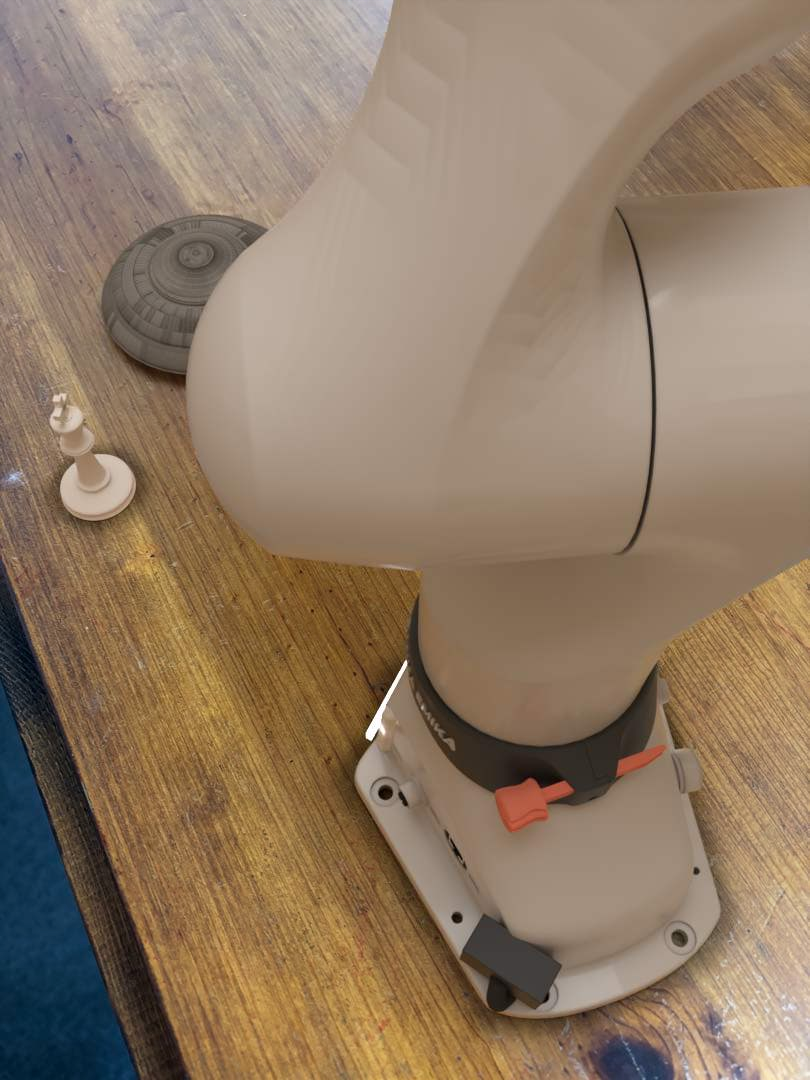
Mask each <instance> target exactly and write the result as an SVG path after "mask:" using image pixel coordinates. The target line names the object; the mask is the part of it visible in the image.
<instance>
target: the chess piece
mask: <svg viewBox="0 0 810 1080" xmlns="http://www.w3.org/2000/svg"><path fill="white" fill-rule="evenodd" d="M69 400H70V397H69V395H68V393H65V392H63V393H61V392H59V395H57V394H54V395H53V398H52V400H51V402H52V404H53V406H54V409H53V412H52V413H51V415H50V417H49V425H50V428H51V429H52V430H53V431H54V432H55V433H56V434H58V435H59V436H60V438H59V448H60V450H61V452H62V453H63V454H64V455H67V456H70V457H73V459H74V463H72V464H71V465H70V466H69V467H68V468H67V469H66V471H64V474H63V475H62V476H61V477H62V478H61V481H60V484H59V493H60V497H61V502H62V504H63V506H64V508H65V509H66V511H67V512H69V513H70V514H71V515H72V516H74V517H75V518H78V519H81V520H83V521H89V522H90V521H91V522H97V521H104V520H107V519H110V518H112V517H115V516H117V515H119V514H120V513H121V512H123V511H124V510H125V509H126V508H127V507H128V506H129V504H130V503H131V502H132V500H133V499H134V496H135V494H136V489H137V481H136V477H135V475H134V472H133V471H132V469H131V468H130V467H129V465H128V464H127V463H126V462H125V461H124V460H123V459H121V458H119V457H117V456H115V455H111V454H107V453H95V454H94V453H93V451H92V448H93V447H94V444H95V435H94V434H93V432H92V431H91V430H90V429H88V428H87V427H84V423H85V418H84V413H83V411H82V410H81V409H80V408H79V407H77V406H75V405H71V404H68V402H69Z"/></svg>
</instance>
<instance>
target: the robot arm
mask: <svg viewBox="0 0 810 1080" xmlns="http://www.w3.org/2000/svg"><path fill="white" fill-rule="evenodd" d="M809 31H810V0H393V2H392V6H391V11H390V16H389V20H388V24H387V29H386V32H385V35H384V37H383V38H384V39H383V42H382V45H381V49H380V51H379V55H378V58H377V61H376V63H375V66H374V69H373V72H372V75H371V77H370V79H369V82H368V85H367V87H366V90H365V93H364V94H363V97H362V99H361V101H360V103H359V105H358V108H357V110H356V112H355V113H354V116H353V118H352V119H351V121H350V123H349V125H348V127H347V129H346V131H345V132H344V134H343V136H342V138H341V140H340V142H339V144H338V146H337V147H336V148H335V150H334V151H333V153H332V155H331V156H330V157H329V159H328V161H327V162H326V164H325V165H324V167H323V168H322V169H321V171H320V172H319V174H318V175H317V177H316V178H315V179H314V181H312V183H311V184H310V185H309V187H308V188H307V189H306V191H305V192H304V193H303V194H302V195H301V196H300V198H299V199H298V201H297V202H296V203H295V204H293V206H292V207H291V208H289V210H288V211H287V212H286V213H284V215H283V216H282V217H281V218H280V219H279V220H278V221H277V222H276V223H275V224H273V226H272V227H270V228H269V229H268V231H267V232H266V233H265V234H264V235H262V236H261V237H260V238H259V239H258V240H256V241H255V242H254V243H253V244H252V245H251V246H249V247H248V248H247V249H245V250H244V251H243V252H242V253H241V254H240V255H239V256H238V258H237V259H236V260H235V261H234V262H233V263H232V264H231V266H230V267H229V268H228V269H227V270H226V272H225V273H224V275H223V276H222V278H221V279H220V281H219V282H218V283H217V285H216V286H215V288H214V290H213V292H212V293H211V295H210V297H209V299H208V301H207V303H206V305H205V306H204V309H203V312H202V314H201V317H200V319H199V322H198V324H197V327H196V329H195V333H194V337H193V340H192V344H191V348H190V352H189V359H188V366H187V374H185V405H186V415H187V422H188V429H189V434H190V437H191V442H192V446H193V449H194V452H195V455H196V458H197V460H198V463H199V466H200V469H201V471H202V473H203V475H204V477H205V479H206V481H207V483H208V485H209V487H210V489H211V491H212V493H213V494H214V496H215V497H216V499H217V500H218V502H219V503H220V505H221V506H222V508H223V509H224V511H225V512H226V513H227V514H228V515H229V517H230V518H231V519H232V520H233V521H234V523H235V524H236V525H237V526H238V527H239V528H240V529H241V530H242V531H243V532H244V533H245V534H246V535H247V536H248V537H249V538H251V539H252V541H253V542H254V543H256V544H257V545H259V546H260V547H261V548H262V549H263V550H265V551H266V552H267V553H268V554H270V555H272V556H276V557H281V558H282V557H283V558H290V559H291V558H292V559H298V560H306V561H307V560H308V561H314V562H323V563H330V564H338V565H347V566H357V567H367V568H368V567H369V568H377V569H388V570H398V571H410V572H419V591H418V594H417V596H416V598H415V601H414V605H413V607H412V610H411V612H410V616H409V620H408V623H407V629H406V630H407V631H406V637H405V661H404V663H403V665H402V667H401V669H400V671H399V672H398V674H397V676H396V678H395V680H394V682H393V683H392V685H391V687H390V688H389V690H388V692H387V694H386V696H385V698H384V699H383V701H382V703H381V705H380V707H379V709H378V710H377V712H376V714H375V716H374V718H373V719H372V722H371V723H370V725H369V727H368V729H367V730H366V732H365V738H366V739H368V740H369V741H372V740H373V738H374V737H375V734H376V733H377V735H376V737H375V738H374V740H373V742H372V743H371V744H370V745H369V746H368V748H367V749H366V751H364V753H363V755H362V757H361V758H360V759H359V761H358V763H357V766H356V768H355V771H354V777H353V783H354V787H355V789H356V792H357V794H358V795H359V797H360V799H361V800H362V802H363V804H364V805H365V807H366V809H367V810H368V812H369V814H370V816H371V817H372V820H374V822H375V825H376V826H377V828H378V829H379V831H380V833H381V834H382V836H383V837H384V839H385V841H386V843H387V844H388V846H389V848H390V849H391V851H392V853H393V855H394V856H395V858H396V860H397V861H398V863H399V865H400V866H401V867H402V870H403V871H404V873H405V875H406V877H407V878H408V880H409V881H410V883H411V885H412V887H413V888H414V890H415V892H416V893H417V895H418V897H419V898H420V900H421V902H422V903H423V905H424V907H425V909H426V910H427V912H428V913H429V915H430V917H431V919H432V921H433V922H434V924H435V926H436V927H437V929H438V930H439V933H440V934H441V936H442V938H443V939H444V941H445V942H446V944H447V946H448V948H449V949H450V951H451V953H452V954H453V956H454V958H455V959H456V961H457V962H458V965H459V966H460V968H461V970H462V972H464V974H465V976H466V978H467V980H468V982H469V983H470V985H471V986H472V988H473V989H474V991H475V993H476V994H477V997H478V998H479V999H480V1000H481V1001H482V1003H483V1005H484V1006H485V1007H486V1008H487V1009H488V1010H490V1011H491V1012H493V1013H497V1014H501V1015H504V1016H509V1017H513V1018H519V1019H532V1020H537V1019H538V1020H539V1019H555V1018H562V1017H568V1016H573V1015H577V1014H581V1013H584V1012H589V1011H592V1010H595V1009H598V1008H601V1007H604V1006H607V1005H610V1004H612V1003H615V1002H617V1001H620V1000H623V999H626V998H628V997H629V996H632V995H634V994H636V993H638V992H641V991H642V990H645V989H646V988H649V987H651V986H652V985H654V984H656V983H657V982H659V981H661V980H663V979H665V978H666V977H668V976H669V975H671V974H672V973H674V972H675V971H676V970H677V969H679V968H680V967H682V966H683V965H684V964H685V963H687V961H689V960H690V959H691V958H692V957H693V956H694V955H695V954H697V952H698V951H699V950H700V948H702V946H703V945H704V944H705V942H706V941H707V940H708V938H709V937H710V936H711V934H712V933H713V931H714V929H715V927H716V926H717V924H718V922H719V920H720V918H721V913H722V907H721V903H720V899H719V894H718V891H717V886H716V883H715V880H714V878H713V874H712V870H711V867H710V863H709V860H708V856H707V854H706V850H705V847H704V846H705V845H704V843H703V839H702V836H701V833H700V829H699V826H698V823H697V819H696V816H695V811H694V809H693V805H692V801H691V797H690V795H689V793H694V792H698V791H699V790H700V789H702V788H703V783H704V777H703V771H702V766H701V762H700V760H699V757H698V755H697V753H696V752H695V751H694V749H692V748H689V747H682V748H676V746H675V744H674V740H673V736H672V734H671V729H670V726H669V722H668V719H667V716H666V713H665V709H664V706H663V705H665V704H668V703H669V702H670V701H671V690H670V685H669V683H668V681H667V680H666V679H665V677H660V673H661V672H660V666H661V665H660V658H661V657H662V655H663V654H664V653H665V651H666V649H667V648H668V647H669V645H670V644H672V643H673V642H674V641H675V640H676V639H678V638H679V637H680V636H682V635H684V634H685V633H686V632H687V631H689V630H690V629H692V628H694V627H695V626H697V625H699V624H700V623H702V622H703V621H704V620H706V619H708V618H710V617H712V616H713V615H714V614H716V613H717V612H720V611H721V610H722V609H724V608H726V607H728V606H729V605H731V604H732V603H734V602H736V601H738V600H739V599H741V598H742V597H744V596H745V595H747V594H750V592H752V591H754V590H756V589H757V588H758V587H761V586H762V585H763V584H766V583H767V582H768V581H770V580H772V579H773V578H775V577H777V576H779V575H780V574H783V573H784V572H786V571H787V570H789V569H792V568H793V567H795V566H796V565H799V564H801V563H802V562H804V561H806V560H807V559H809V558H810V184H806V185H795V186H794V185H791V186H776V187H763V188H748V189H733V190H719V191H703V192H689V193H687V192H686V193H674V194H673V193H672V194H661V195H660V194H659V195H657V194H656V195H644V196H643V195H642V196H629V197H621V195H622V194H623V191H624V189H625V187H626V185H627V184H628V182H629V180H630V179H631V178H632V176H633V174H634V173H635V171H636V170H637V168H638V167H639V165H640V164H641V163H642V162H643V160H644V159H645V157H646V156H647V155H648V153H649V152H650V151H651V150H652V148H653V147H654V146H655V144H657V142H658V141H659V140H660V139H661V137H663V135H664V134H666V132H667V131H668V130H669V129H670V128H671V127H672V126H673V125H674V124H675V122H677V121H678V120H679V119H680V118H681V117H682V116H683V115H684V114H685V113H686V112H687V111H688V110H690V109H691V108H692V107H693V106H695V105H696V104H697V103H698V102H701V100H703V99H704V98H705V97H707V96H708V95H710V94H711V93H713V92H715V91H716V90H718V88H721V87H722V86H723V85H725V84H727V83H728V82H731V81H732V80H734V79H736V78H737V77H739V76H741V75H743V74H744V73H746V72H748V71H750V70H752V69H753V68H755V67H757V66H759V65H760V64H762V63H764V62H765V61H768V60H769V59H771V58H773V57H774V56H776V55H777V54H779V53H781V52H782V51H783V50H785V49H786V48H788V47H789V46H791V45H793V44H794V43H795V42H796V41H797V40H799V39H800V38H801V37H802V36H804V35H805V34H806V33H807V32H809ZM385 789H387V790H390V791H391V793H392V796H391V797H390V798H389V799H382V798H381V797H380V795H379V793H380V792H381V791H382V790H385ZM454 916H459V918H461V922H458V923H456V922H454V920H453V917H454ZM673 933H679V934H680V935H681V936H682V937H683V939H684V945H683V946H678V945H676V944H675V943H674V941H673V938H672V937H673ZM546 997H547V1000H546V1002H544V1001H545V999H546Z"/></svg>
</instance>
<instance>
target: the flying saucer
mask: <svg viewBox="0 0 810 1080" xmlns="http://www.w3.org/2000/svg"><path fill="white" fill-rule="evenodd" d="M268 230H269V229H268V228H266V227H264V226H262V225H260V224H258V223H255V222H253V221H250V220H248V219H245V218H241V217H237V216H232V215H226V214H216V213H215V214H209V213H208V214H207V213H206V214H194V215H187V216H183V217H178V218H175V219H172V220H169V221H166V222H164V223H161V224H160V225H157V226H155V227H153V228H151V229H149V230H148V231H146V232H145V233H143V234H141V235H140V236H139V237H137V238H136V239H135V240H134V241H132V242H131V243H130V244H129V245H127V247H126V248H125V249H124V250H123V251H122V253H120V255H119V256H118V257H117V259H116V260H115V262H113V264H112V266H111V268H110V269H109V272H108V273H107V276H106V279H105V281H104V284H103V288H102V292H101V300H100V302H101V303H100V304H101V305H100V306H101V314H102V319H103V322H104V325H105V327H106V329H107V331H108V333H109V335H110V337H111V338H112V339H113V341H114V342H115V344H116V345H118V346H119V348H120V349H122V350H123V351H124V352H125V353H126V354H127V355H129V356H130V357H132V358H133V359H135V360H136V361H139V362H140V363H141V364H144V365H146V366H148V367H150V368H153V369H156V370H159V371H163V372H167V373H170V374H171V373H172V374H178V375H186V374H187V366H188V359H189V352H190V348H191V344H192V340H193V337H194V333H195V329H196V327H197V324H198V322H199V319H200V317H201V314H202V312H203V309H204V306H205V305H206V303H207V301H208V299H209V297H210V295H211V293H212V292H213V290H214V288H215V286H216V285H217V283H218V282H219V281H220V279H221V278H222V276H223V275H224V273H225V272H226V270H227V269H228V268H229V267H230V266H231V264H232V263H233V262H234V261H235V260H236V259H237V258H238V256H239V255H240V254H241V253H242V252H243V251H244V250H245V249H247V248H248V247H249V246H251V245H252V244H253V243H254V242H255V241H256V240H258V239H259V238H260V237H261V236H262V235H264V234H265V233H266V232H267V231H268Z"/></svg>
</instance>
